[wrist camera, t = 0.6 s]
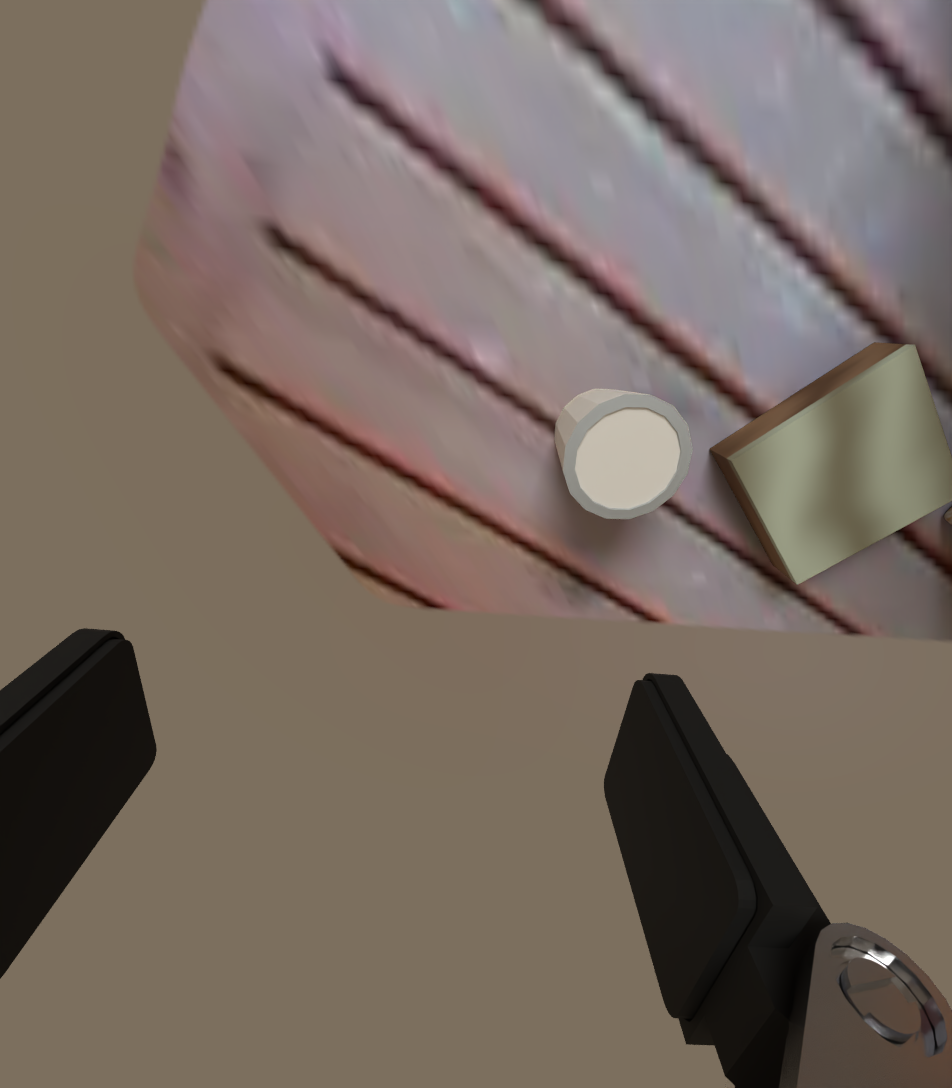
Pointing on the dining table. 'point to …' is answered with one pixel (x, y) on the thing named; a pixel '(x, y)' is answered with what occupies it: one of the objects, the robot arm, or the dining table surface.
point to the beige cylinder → (622, 451)
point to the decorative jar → (948, 516)
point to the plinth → (841, 461)
